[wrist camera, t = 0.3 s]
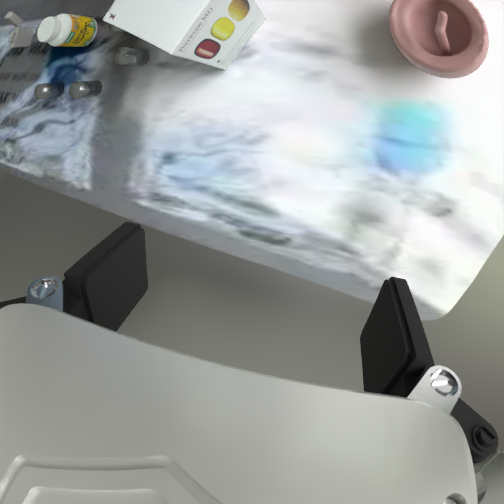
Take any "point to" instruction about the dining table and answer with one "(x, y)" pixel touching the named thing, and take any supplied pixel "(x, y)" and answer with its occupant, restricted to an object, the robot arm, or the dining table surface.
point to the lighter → (19, 32)
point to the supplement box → (190, 26)
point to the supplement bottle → (67, 30)
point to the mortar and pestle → (440, 35)
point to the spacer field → (93, 87)
